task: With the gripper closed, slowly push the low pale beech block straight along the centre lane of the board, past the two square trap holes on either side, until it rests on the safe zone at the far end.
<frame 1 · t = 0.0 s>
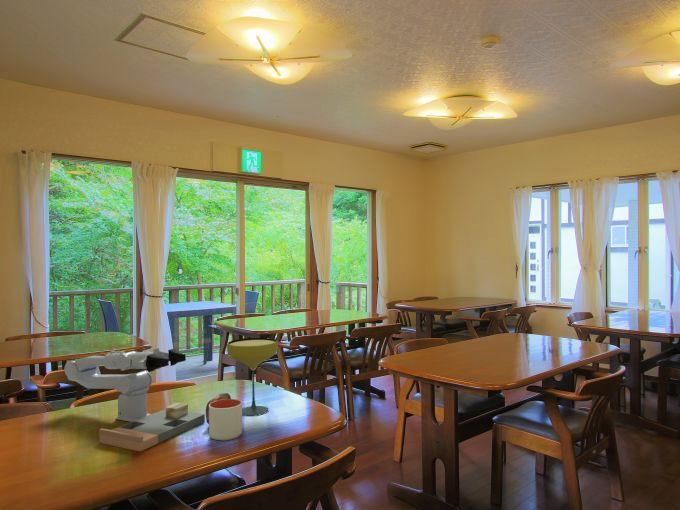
hand: (176, 359, 156), 22 cm above the table, tool horizontal, fingers open, 7 cm apart
tin: (218, 421, 160), on the table
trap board: (155, 431, 151), on the table
cup: (225, 436, 146), on the table
beech block: (177, 414, 159), point 2 cm above the table, touching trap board
cocktail glass: (253, 411, 170), on the table
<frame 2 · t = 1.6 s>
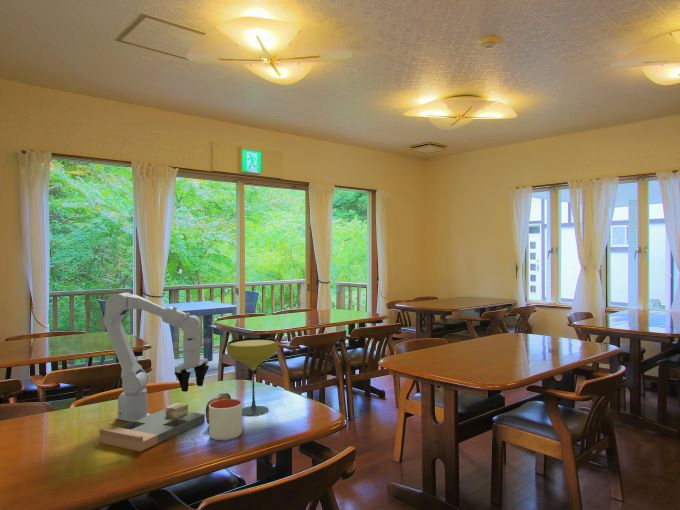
hand: (192, 388, 166), 9 cm above the table, tool pointing down, fingers open, 7 cm apart
nothing on the table moved.
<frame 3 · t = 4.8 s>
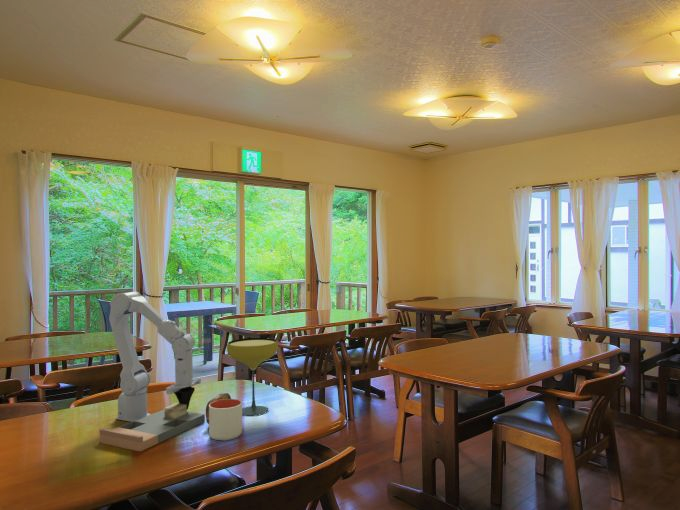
hand: (184, 409, 163), 3 cm above the table, tool pointing down, fingers closed
nothing on the table moved.
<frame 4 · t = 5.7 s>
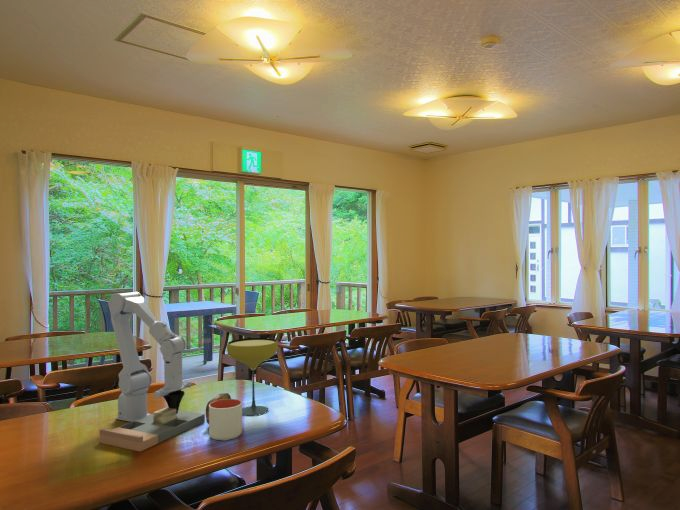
hand: (173, 413, 158), 3 cm above the table, tool pointing down, fingers closed
beech block: (165, 419, 154), point 3 cm above the table, touching gripper, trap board
everything else where it was.
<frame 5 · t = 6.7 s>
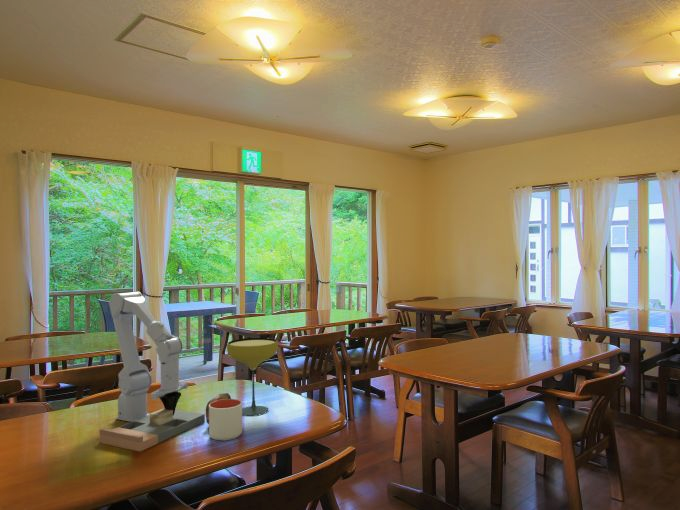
hand: (170, 415, 157), 3 cm above the table, tool pointing down, fingers closed
beech block: (161, 421, 153), point 3 cm above the table, touching gripper, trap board
everything else where it was.
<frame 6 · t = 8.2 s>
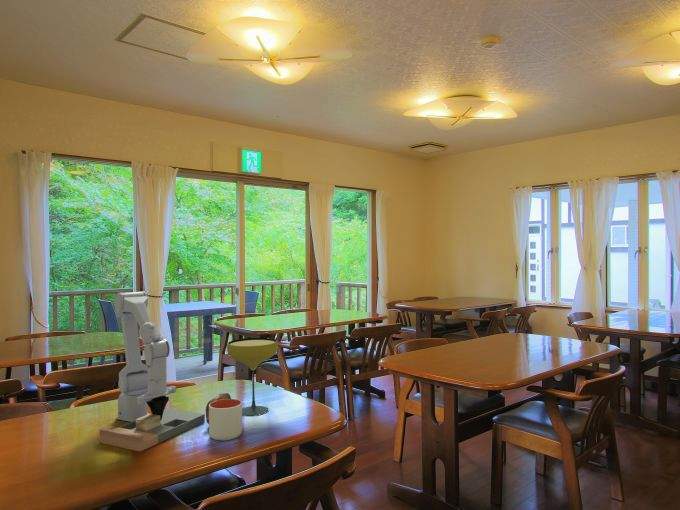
hand: (157, 420, 152), 3 cm above the table, tool pointing down, fingers closed
beech block: (148, 426, 148), point 3 cm above the table, touching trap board
everything else where it was.
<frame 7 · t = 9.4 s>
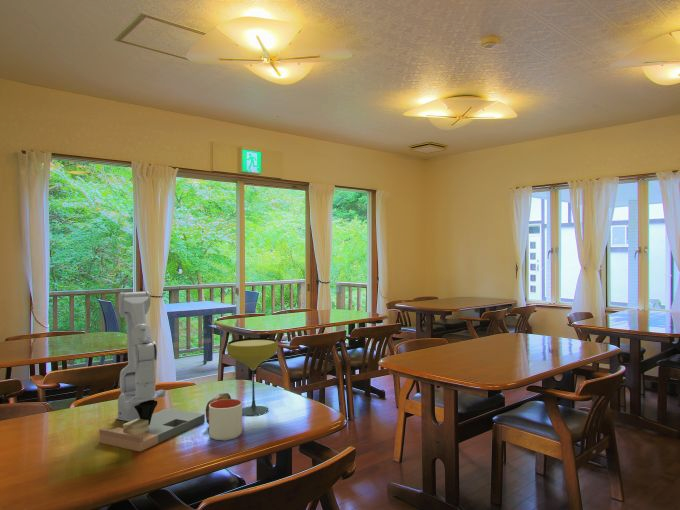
hand: (145, 425, 147), 3 cm above the table, tool pointing down, fingers closed
beech block: (136, 432, 144), point 3 cm above the table
everything else where it was.
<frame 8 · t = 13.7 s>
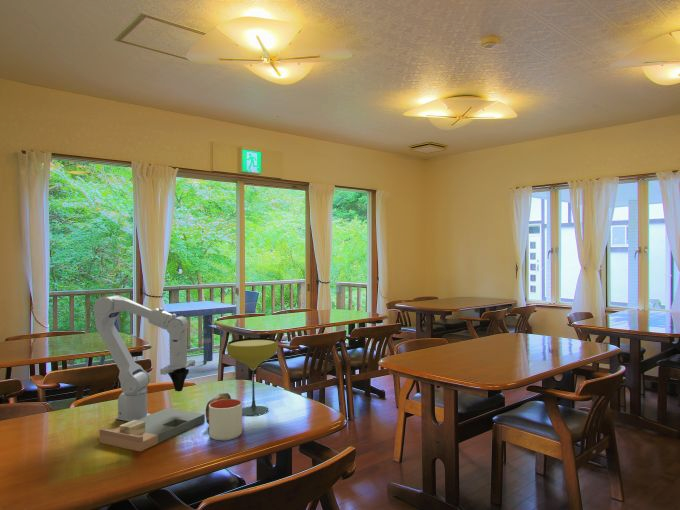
hand: (178, 390, 164), 9 cm above the table, tool pointing down, fingers closed
beech block: (132, 433, 142), point 2 cm above the table, touching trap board
everything else where it was.
at the end: beech block 0.4 cm from the target spot on the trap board, point 2.5 cm above the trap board's base; beech block tilted 0° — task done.
